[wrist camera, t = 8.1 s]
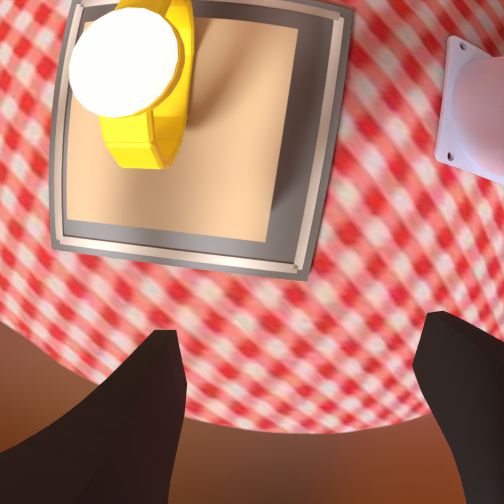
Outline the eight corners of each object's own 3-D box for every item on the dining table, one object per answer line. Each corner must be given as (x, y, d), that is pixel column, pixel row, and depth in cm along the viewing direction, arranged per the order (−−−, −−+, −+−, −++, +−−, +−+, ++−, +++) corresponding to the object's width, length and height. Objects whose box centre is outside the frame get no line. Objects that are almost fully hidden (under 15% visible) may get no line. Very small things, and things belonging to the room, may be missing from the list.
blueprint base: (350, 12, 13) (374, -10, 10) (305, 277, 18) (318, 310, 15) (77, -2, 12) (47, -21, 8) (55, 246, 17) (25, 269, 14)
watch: (202, 156, 13) (170, 198, 7) (136, 153, 12) (66, 192, 7) (217, 13, 10) (196, -50, 5) (149, 14, 10) (85, -36, 4)
